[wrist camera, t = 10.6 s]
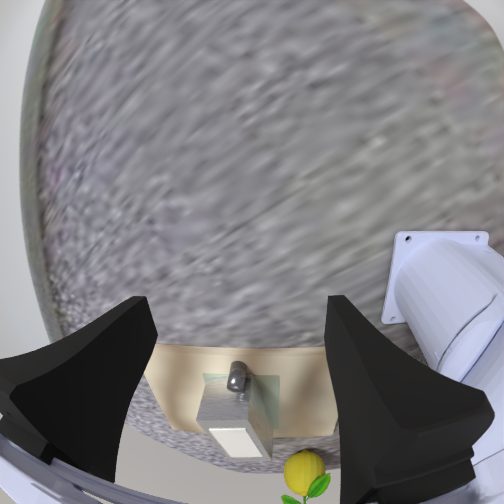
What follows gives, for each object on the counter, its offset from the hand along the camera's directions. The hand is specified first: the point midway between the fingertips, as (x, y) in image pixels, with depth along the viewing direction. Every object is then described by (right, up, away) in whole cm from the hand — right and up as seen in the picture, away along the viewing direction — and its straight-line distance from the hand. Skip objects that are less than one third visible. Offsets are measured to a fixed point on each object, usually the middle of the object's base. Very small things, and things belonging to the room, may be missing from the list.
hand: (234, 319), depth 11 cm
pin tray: (0, -13, +16) cm, 20 cm away
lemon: (+8, -25, +21) cm, 34 cm away
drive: (0, -13, +15) cm, 19 cm away
